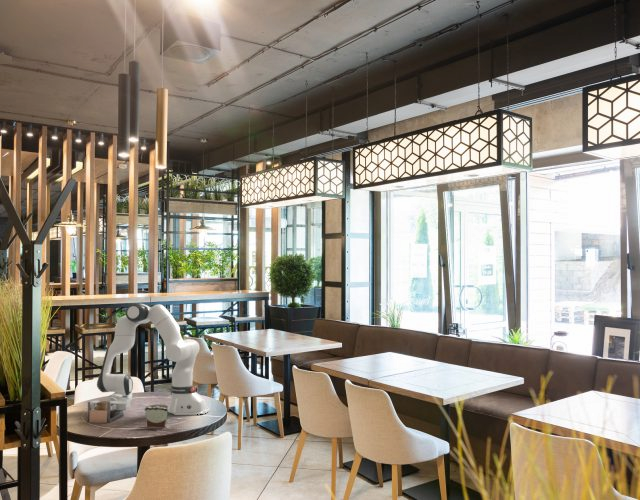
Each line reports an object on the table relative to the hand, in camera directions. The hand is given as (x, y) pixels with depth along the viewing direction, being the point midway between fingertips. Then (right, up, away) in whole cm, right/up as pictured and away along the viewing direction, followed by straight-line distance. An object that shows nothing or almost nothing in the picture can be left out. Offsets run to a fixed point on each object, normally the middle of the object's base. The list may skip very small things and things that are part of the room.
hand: (102, 408), depth 286 cm
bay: (0, -6, +5) cm, 8 cm away
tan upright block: (0, -6, +1) cm, 6 cm away
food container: (+31, -6, -9) cm, 33 cm away
